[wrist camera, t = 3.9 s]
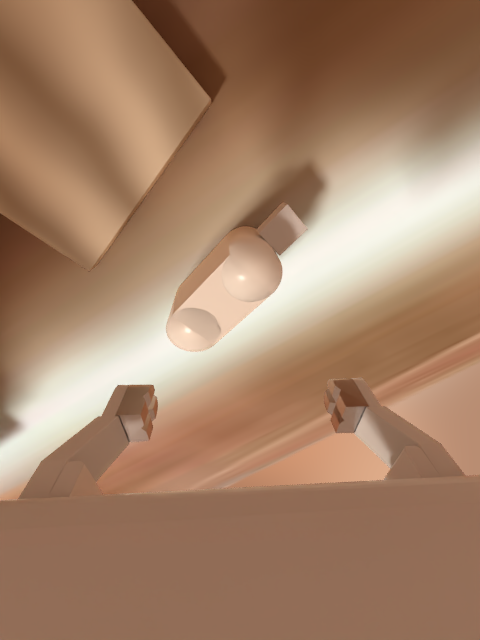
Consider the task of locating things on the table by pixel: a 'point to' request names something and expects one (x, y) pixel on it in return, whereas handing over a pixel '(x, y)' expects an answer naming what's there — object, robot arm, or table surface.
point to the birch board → (86, 118)
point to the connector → (232, 281)
